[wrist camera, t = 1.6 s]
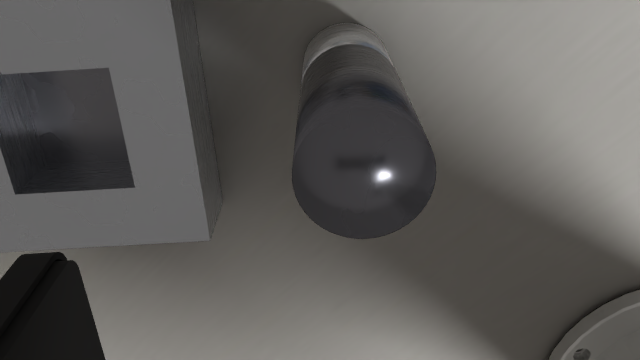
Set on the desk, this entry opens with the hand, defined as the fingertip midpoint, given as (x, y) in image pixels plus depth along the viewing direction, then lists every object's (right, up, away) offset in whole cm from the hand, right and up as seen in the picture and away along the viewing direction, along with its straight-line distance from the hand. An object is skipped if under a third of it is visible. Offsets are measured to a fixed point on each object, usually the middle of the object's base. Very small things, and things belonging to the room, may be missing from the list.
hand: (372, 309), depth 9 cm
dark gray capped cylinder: (0, +7, +15) cm, 17 cm away
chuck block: (-11, +9, +14) cm, 20 cm away
